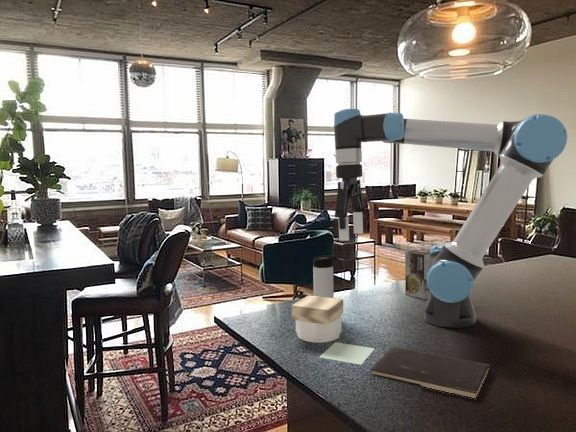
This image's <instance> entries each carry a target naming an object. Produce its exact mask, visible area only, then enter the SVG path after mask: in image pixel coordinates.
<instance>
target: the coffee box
mask: <svg viewBox="0 0 576 432" xmlns="http://www.w3.org/2000/svg"><path fill="white" fill-rule="evenodd" d="M404 253H405V254H404V263H405V264H404V272H405V273H404V274H405V275H404V276H405V280H404V281H405V282H404V284H405V295H407V296H411V297H415V298H419V299H422V300H426V299H427V300H428V298H429V295H430V290H429V288H428V284H427V280H426V277H427V273H428V271H429V267H430V251H428V250H420V249H412V250H409V251H405V252H404Z"/></svg>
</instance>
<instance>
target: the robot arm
mask: <svg viewBox="0 0 576 432" xmlns="http://www.w3.org/2000/svg"><path fill="white" fill-rule="evenodd" d="M333 123H334V124H333V130H334V133H333V134H334V148H335V153H333V156H334V157H335V164H337V165H336V166H335V177H336V178H337V179H341V181H338V182H337V192H336V193H337V195H336V203H335V209H334V210H335V212H334V218H338V219H337V220H338V223H337V224H338V241H341V242H345V241H348V242H349V241H350V229H349V228H350V226H349V222H350V221H349V217H348V213H349V208H350V204H351V205H352V208H353V212H352V217H353V218H352V220H353V221H352V222H353V234H355V235H357V234H359V235H361V234H362V235H363V233H364V226H363V225H364V223H363V221H364V220H363V219H364V217H363V213H364V212H366V208H365V203H364V197H363V192H362V187H361V179H357V178H362V177H363V165H362V164H361V162H362V161H363V155H362V153H363V151H362V149H363V148H362V143H371V142H373V143H374V142H383V143H385V144H400V145H403V144H404V145H414V146H428V147H429V146H430V147H436V148H437V147H439V148H440V147H441V148H452V149H463V150H471V151H472V150H475V151H485V152H493V153H494V154H495V155H496V156H499V159H500V165H499V167H498V168H497V170H496V172H495V173H494V174H493V176H492V178H491V180H490V181H489V183H488V185H487V186H486V188H485V189H484V190H483V192H482V194H481V195H480V198H479V199H478V200H477V202H476V204H475V205H474V207H473V209H472V210H471V211H470V213H469V215H468V216H467V219H466V220H465V221H464V223H463V225H462V226H461V228H460V229H459V230H458V232H457V234H456V236H455V238H453V240H452V241H450V242H446V243H444V244H443V245H433V246H431V247H430V251H429V252H430V267H429V271H428V273H427V277H426V280H427V284H428V288H429V290H430V295H429V298H427V301H426V304H425V307H424V310H423V319H424V321H425V322H426V323H429V324H431V325H434V326H437V327H443V328H452V329H455V328H456V329H460V328H469V327H472V326H474V325H475V324H476V322H477V314H476V311H475V307H474V304H473V302H472V298H471V293H472V291H473V288H474V283H475V281H476V280H477V278H478V277H479V275H480V273H481V272H482V271H483V269H484V267H485V264H484V260H483V257H484V255H485V254H486V253H487V252H488V249H489V248H490V247H491V245H492V244H493V242H494V241H495V239H496V238H497V236H498V235H499V232H501V229H502V228H503V226H504V225H505V224H506V221H507V220H508V219H509V218H510V215H511V214H512V213H513V211H514V210H515V208H516V206H517V205H518V204H519V201H520V200H521V198H522V197H523V195H524V194H525V193H526V191H527V189H528V188H529V186H530V184H531V183H532V181H534V180H535V179H537V178H538V179H539V178H542V177H543V176H544V175H545V174H546V172H547V170H548V169H549V167H550V166H551V164H552V163H553V161H554V160H555V159H557V158H558V157H559V156H560V155H561V154H562V153H563V152H564V150H565V148H566V146H567V144H568V131H567V128H566V126H565V125H564V124H563V122H561V120H559V118H556V117H555V116H552V115H549V114H544V113H543V114H541V113H537V114H532V115H529V116H527V117H526V118H523V120H516V121H505V120H502V121H500V122H499V123H497V124H495V123H481V122H480V123H479V122H477V123H476V122H466V121H465V122H462V121H449V120H447V121H445V120H434V119H433V120H432V119H431V120H430V119H418V118H417V119H415V118H404V114H402V113H401V112H387V113H379V114H377V113H376V114H368V115H367V114H366V115H365V114H364V115H363V114H361V110H360V109H359V108H343V109H338V110H337V111H335V112H334V122H333Z"/></svg>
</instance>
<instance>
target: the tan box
mask: <svg viewBox="0 0 576 432" xmlns="http://www.w3.org/2000/svg"><path fill="white" fill-rule="evenodd" d="M290 307H291V320H299V321H306V322H313V323H320V324H327V325H329V324H330V323H331V322H333V321H334V320H335V319H336V318H338V317H339V316H340V315H341V316H342V315H343V314H344V299H343V298H337V297H334V298H328V297H319V296H314V295H305V297H303V298H301V299H299V300H298V301H297V302H295V303H293V304H291V306H290Z"/></svg>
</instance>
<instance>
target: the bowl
mask: <svg viewBox="0 0 576 432" xmlns="http://www.w3.org/2000/svg"><path fill="white" fill-rule="evenodd" d="M295 332H296V333H297V334H296V335H297V338H298V339H300V340H301V341H303V342H304V341H305V342H307V343H308V342H309V343H316V344H317V343H318V344H321V343H328V342H333V341H335V340H337V339H339V338H340V336H341V333H342V314H341V315H340V316H339V317H338V318H336V319H335V320H334V321H333V322H331V323H330V324H329V325H327V324H320V323H313V322H306V321H299V320H295Z"/></svg>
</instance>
